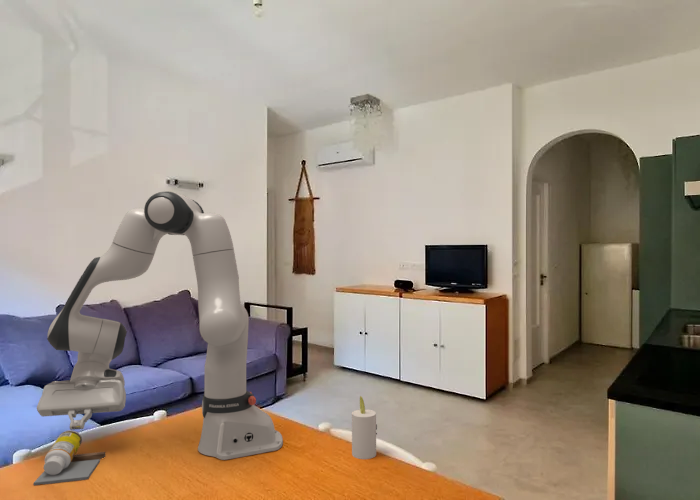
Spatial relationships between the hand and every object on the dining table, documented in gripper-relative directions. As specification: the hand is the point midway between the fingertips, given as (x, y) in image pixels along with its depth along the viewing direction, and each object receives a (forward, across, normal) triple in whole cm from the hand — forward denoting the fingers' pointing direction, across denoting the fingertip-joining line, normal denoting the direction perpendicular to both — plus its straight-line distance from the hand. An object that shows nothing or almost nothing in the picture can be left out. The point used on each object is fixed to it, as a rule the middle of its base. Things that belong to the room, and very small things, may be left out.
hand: (76, 428), depth 115 cm
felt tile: (+10, 0, +2) cm, 10 cm away
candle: (+15, +71, -4) cm, 73 cm away
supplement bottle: (+1, -1, +3) cm, 3 cm away
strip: (+5, 0, +7) cm, 8 cm away
